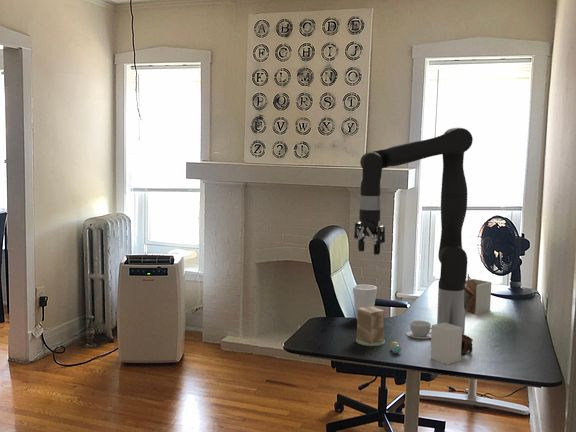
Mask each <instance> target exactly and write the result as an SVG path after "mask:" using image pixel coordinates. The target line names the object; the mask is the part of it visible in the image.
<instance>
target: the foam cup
mask: <svg viewBox="0 0 576 432" xmlns="http://www.w3.org/2000/svg"><path fill="white" fill-rule="evenodd" d="M377 293H378V287H377V285H372V284H356V285H352V294H353V300H354V309H355V310H354V311H355V318H356V320H357V311H358V308H362V307H369V306H372V307H375V304H376V297H377Z"/></svg>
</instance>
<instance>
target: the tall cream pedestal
mask: <svg viewBox="0 0 576 432" xmlns="http://www.w3.org/2000/svg"><path fill="white" fill-rule="evenodd" d="M431 328H432V330H431V332H430V333H431V338H430V357H429V358H430V359H432V360H434V361H437V362H440V363H443V364H446V365H450V364H455V363H458V362H461V361H462V356H461V344H462V327H458V326H455V325H452V324H449V323H445V322H444V323H439V324H437V323H436V324H431Z"/></svg>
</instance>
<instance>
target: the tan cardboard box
mask: <svg viewBox="0 0 576 432" xmlns="http://www.w3.org/2000/svg"><path fill="white" fill-rule="evenodd" d="M385 315H386V313H385V310H384V309H381V308H378V307H376V306H374V307H372V306H369V307H362V308H358V311H357V319H356V324H357V325H356V339H359V340H361V341H364V342H366V343H368V344H373V343H378V342H383V341H384V340H385Z"/></svg>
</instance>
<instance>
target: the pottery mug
mask: <svg viewBox="0 0 576 432" xmlns="http://www.w3.org/2000/svg"><path fill="white" fill-rule="evenodd" d="M472 352H473V338H472V337H470V336H468V335H466V334H465V333H464V334H462V344H461V357H464V356H467V353H469V354H472Z"/></svg>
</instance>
